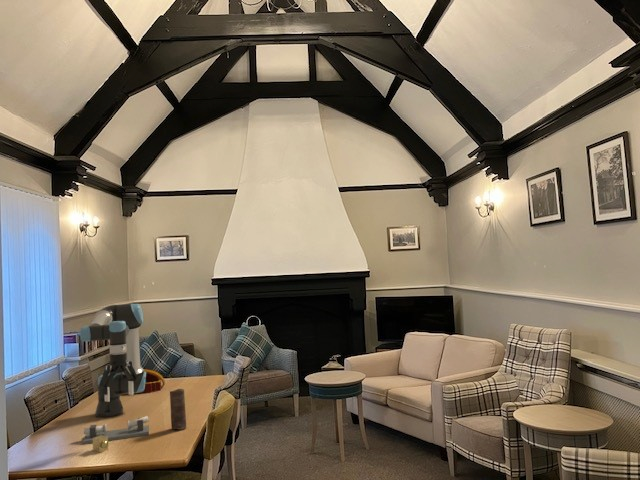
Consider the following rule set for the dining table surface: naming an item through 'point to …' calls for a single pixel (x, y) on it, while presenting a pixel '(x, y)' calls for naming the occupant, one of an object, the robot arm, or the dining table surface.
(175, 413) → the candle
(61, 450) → the dining table surface
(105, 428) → the shaft mount
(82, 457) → the dining table surface
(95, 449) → the coupler
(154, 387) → the decorative basket
